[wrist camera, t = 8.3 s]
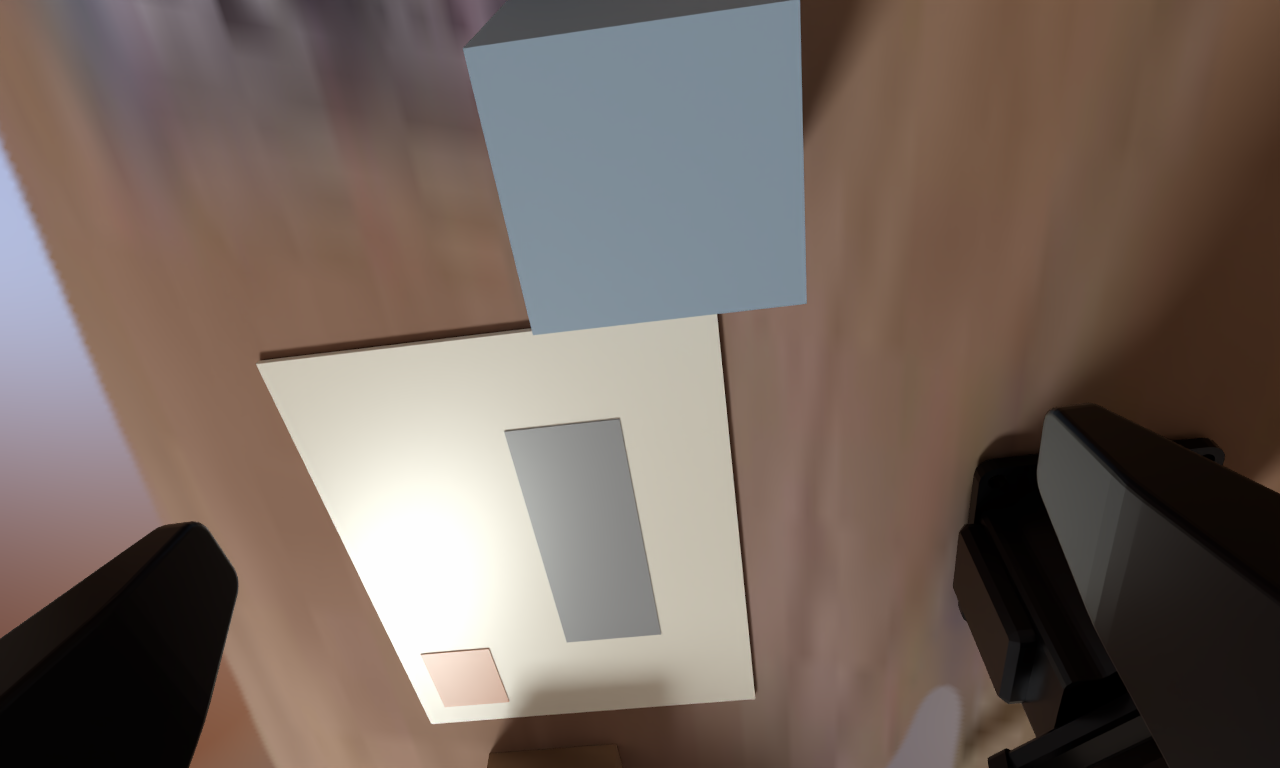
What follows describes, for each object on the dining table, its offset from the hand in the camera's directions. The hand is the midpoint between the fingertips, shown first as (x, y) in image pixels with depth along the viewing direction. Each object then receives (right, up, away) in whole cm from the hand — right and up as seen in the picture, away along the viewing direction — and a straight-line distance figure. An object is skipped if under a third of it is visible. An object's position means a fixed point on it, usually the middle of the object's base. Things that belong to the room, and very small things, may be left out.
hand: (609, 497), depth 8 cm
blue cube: (0, +7, +9) cm, 11 cm away
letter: (-3, -4, +16) cm, 17 cm away
